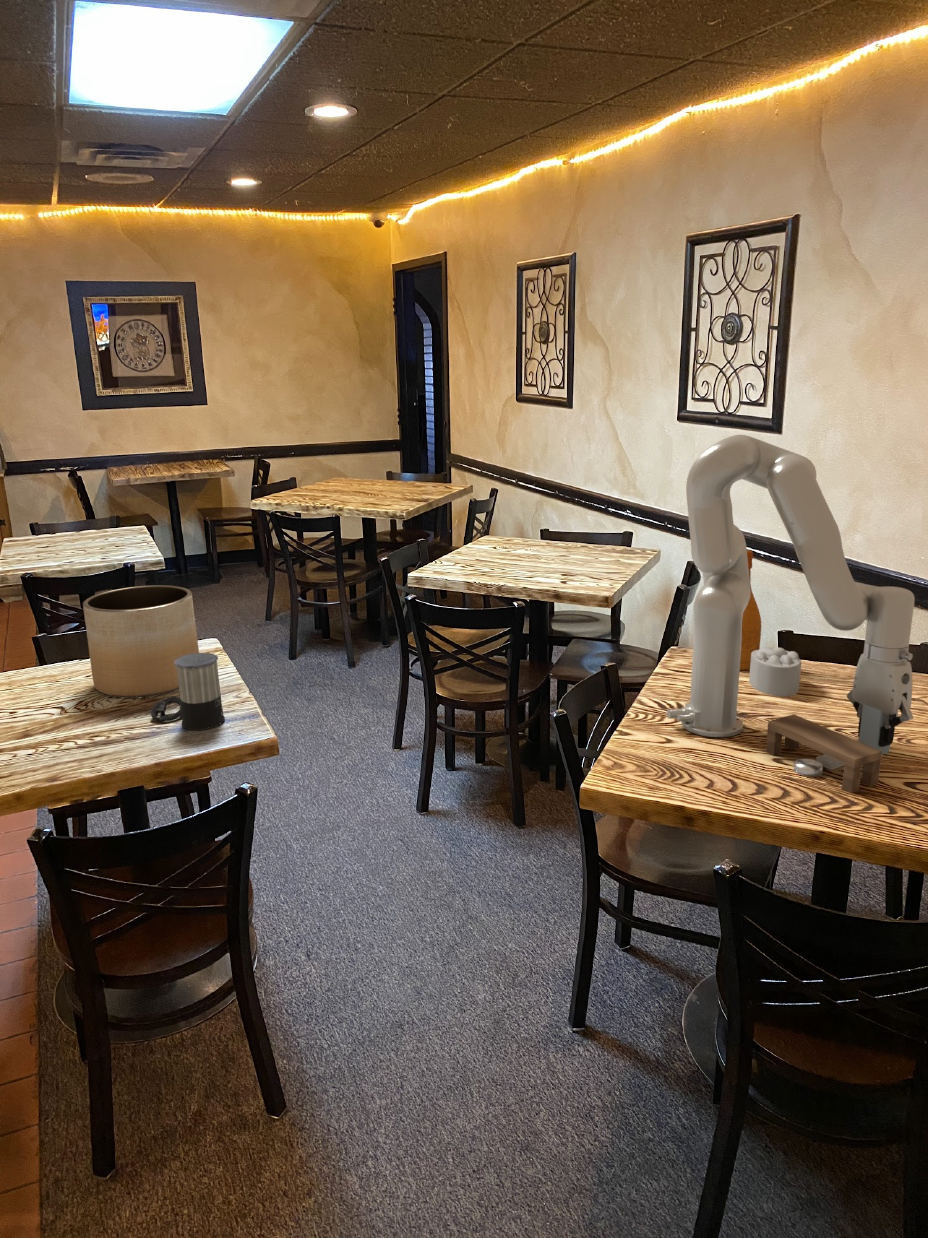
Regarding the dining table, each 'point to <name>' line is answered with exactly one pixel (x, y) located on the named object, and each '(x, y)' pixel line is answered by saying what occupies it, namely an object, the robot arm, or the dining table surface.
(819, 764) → the token
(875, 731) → the grey block
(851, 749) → the stand
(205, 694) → the milk frother
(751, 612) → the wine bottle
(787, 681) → the lumpy-topped squat cylinder
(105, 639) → the beige ceramic crock
